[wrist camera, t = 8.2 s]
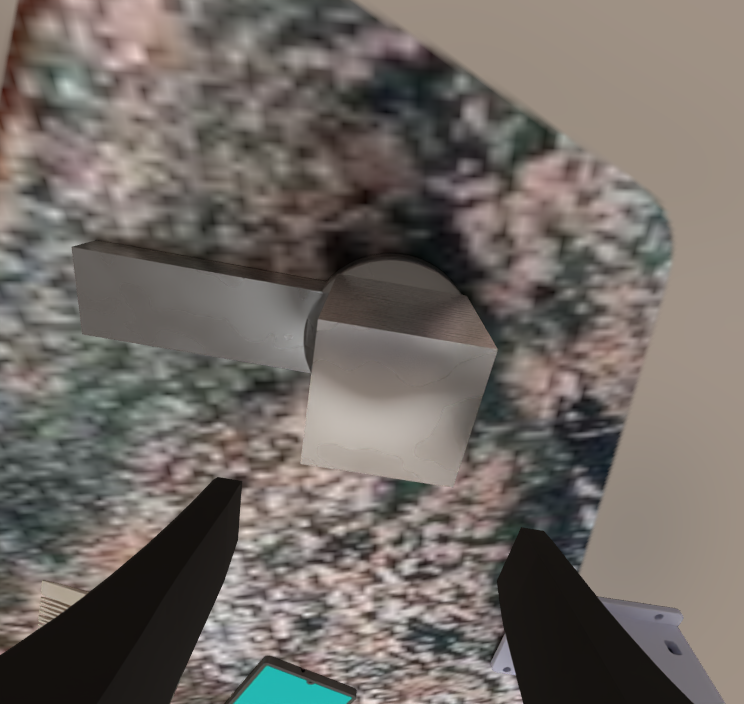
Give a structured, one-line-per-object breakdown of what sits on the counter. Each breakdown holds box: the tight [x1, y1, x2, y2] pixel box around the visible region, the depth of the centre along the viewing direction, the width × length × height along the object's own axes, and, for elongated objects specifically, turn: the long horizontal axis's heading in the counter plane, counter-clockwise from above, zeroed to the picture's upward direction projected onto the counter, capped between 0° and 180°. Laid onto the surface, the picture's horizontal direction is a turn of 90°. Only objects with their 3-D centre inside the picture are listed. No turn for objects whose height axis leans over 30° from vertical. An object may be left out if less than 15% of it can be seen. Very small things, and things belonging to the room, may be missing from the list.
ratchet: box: [72, 240, 461, 373], centre depth 16 cm, size 16×7×4 cm, turn 80°
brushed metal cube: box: [300, 274, 498, 487], centre depth 15 cm, size 5×5×5 cm
